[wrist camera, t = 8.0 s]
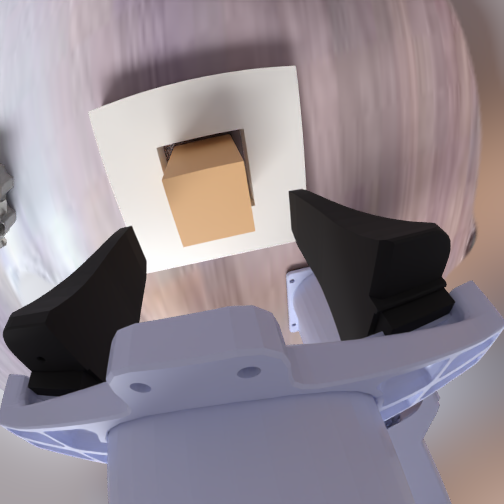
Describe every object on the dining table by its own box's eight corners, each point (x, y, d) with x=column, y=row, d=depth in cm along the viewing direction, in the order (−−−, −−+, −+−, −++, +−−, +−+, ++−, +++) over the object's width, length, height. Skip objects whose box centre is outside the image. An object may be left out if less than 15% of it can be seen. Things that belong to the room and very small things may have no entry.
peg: (238, 183, 20) (255, 231, 15) (187, 195, 20) (183, 247, 15) (229, 133, 18) (243, 161, 12) (174, 146, 18) (161, 180, 12)
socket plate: (298, 223, 23) (307, 238, 21) (150, 254, 23) (146, 273, 21) (284, 67, 16) (295, 65, 14) (101, 107, 15) (88, 112, 13)
